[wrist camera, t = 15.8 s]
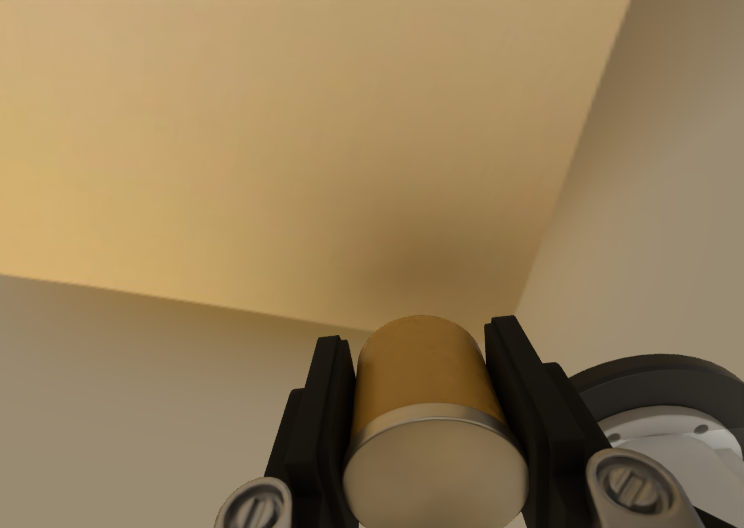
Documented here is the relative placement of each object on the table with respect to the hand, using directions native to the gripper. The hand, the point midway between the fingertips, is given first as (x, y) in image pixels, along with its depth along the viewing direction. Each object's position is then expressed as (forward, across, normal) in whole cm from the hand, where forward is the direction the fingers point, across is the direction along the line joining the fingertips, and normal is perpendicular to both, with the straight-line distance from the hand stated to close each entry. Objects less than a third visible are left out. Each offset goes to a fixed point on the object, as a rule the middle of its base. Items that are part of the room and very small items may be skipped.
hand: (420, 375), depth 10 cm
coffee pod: (0, 0, 0) cm, 0 cm away
